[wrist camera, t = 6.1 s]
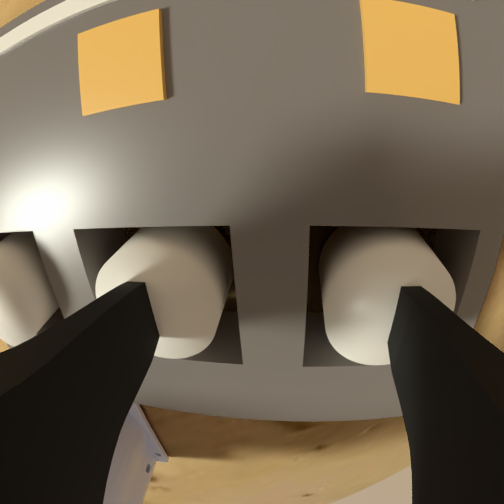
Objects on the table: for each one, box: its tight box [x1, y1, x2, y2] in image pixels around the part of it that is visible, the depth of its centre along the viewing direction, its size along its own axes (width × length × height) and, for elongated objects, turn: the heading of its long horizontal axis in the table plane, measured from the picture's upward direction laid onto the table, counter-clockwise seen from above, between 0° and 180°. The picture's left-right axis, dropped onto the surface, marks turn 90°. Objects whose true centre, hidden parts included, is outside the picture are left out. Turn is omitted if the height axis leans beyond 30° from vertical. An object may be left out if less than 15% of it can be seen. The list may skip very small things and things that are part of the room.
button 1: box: [319, 226, 456, 365], centre depth 10 cm, size 4×4×3 cm
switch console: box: [0, 0, 504, 421], centre depth 10 cm, size 16×21×3 cm
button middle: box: [95, 226, 234, 359], centre depth 10 cm, size 4×4×3 cm
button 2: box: [0, 231, 59, 347], centre depth 10 cm, size 4×4×3 cm
